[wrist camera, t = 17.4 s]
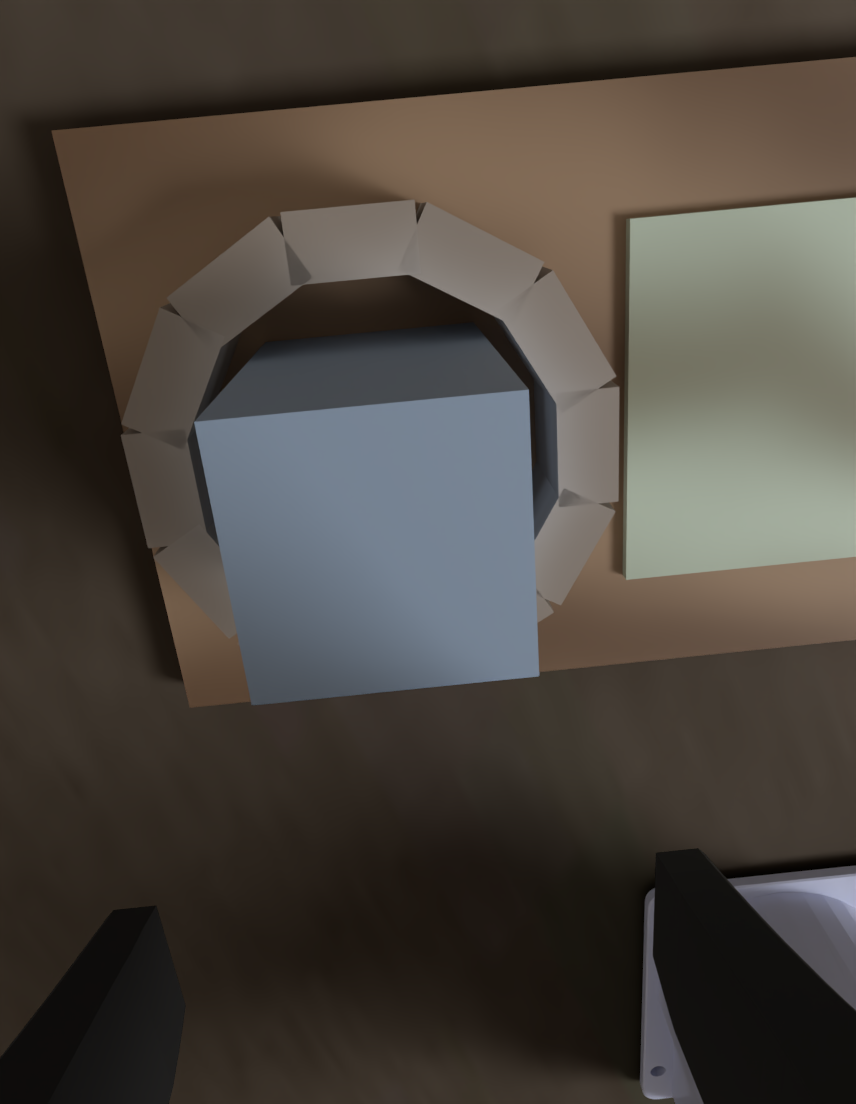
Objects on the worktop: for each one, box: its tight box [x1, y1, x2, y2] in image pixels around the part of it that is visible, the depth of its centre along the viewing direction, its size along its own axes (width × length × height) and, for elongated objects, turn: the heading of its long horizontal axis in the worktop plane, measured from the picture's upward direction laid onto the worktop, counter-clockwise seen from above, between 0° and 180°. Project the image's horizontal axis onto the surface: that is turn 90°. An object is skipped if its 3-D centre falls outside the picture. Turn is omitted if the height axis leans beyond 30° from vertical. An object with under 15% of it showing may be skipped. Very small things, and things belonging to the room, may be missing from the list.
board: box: [52, 57, 856, 708], centre depth 17 cm, size 13×20×4 cm, turn 95°
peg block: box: [194, 322, 539, 705], centre depth 15 cm, size 4×4×7 cm
